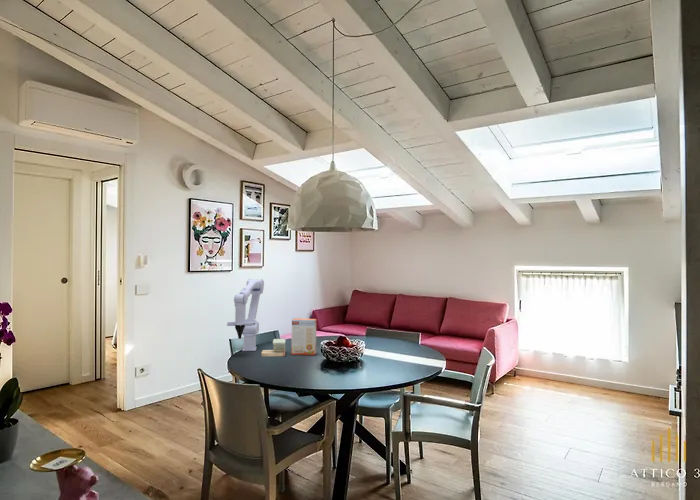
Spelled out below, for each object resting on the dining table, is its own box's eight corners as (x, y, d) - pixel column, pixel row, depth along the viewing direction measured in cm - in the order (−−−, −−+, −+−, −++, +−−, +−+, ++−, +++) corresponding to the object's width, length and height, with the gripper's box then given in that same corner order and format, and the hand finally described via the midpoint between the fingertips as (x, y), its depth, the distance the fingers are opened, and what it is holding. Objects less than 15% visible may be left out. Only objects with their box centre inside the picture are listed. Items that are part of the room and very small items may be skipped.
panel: (262, 354, 258) (262, 350, 258) (282, 354, 260) (282, 350, 260) (261, 357, 250) (261, 353, 250) (282, 357, 252) (282, 353, 252)
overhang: (273, 352, 262) (273, 338, 262) (285, 351, 263) (285, 338, 263) (272, 356, 250) (272, 342, 250) (284, 356, 251) (285, 342, 251)
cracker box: (316, 353, 261) (316, 318, 261) (314, 355, 255) (315, 319, 255) (293, 352, 262) (294, 317, 262) (290, 354, 256) (291, 319, 256)
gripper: (226, 315, 247) (225, 339, 246) (252, 315, 248) (251, 339, 248) (228, 314, 254) (227, 337, 253) (253, 314, 255) (253, 337, 255)
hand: (239, 338), depth 251 cm, fingers closed
